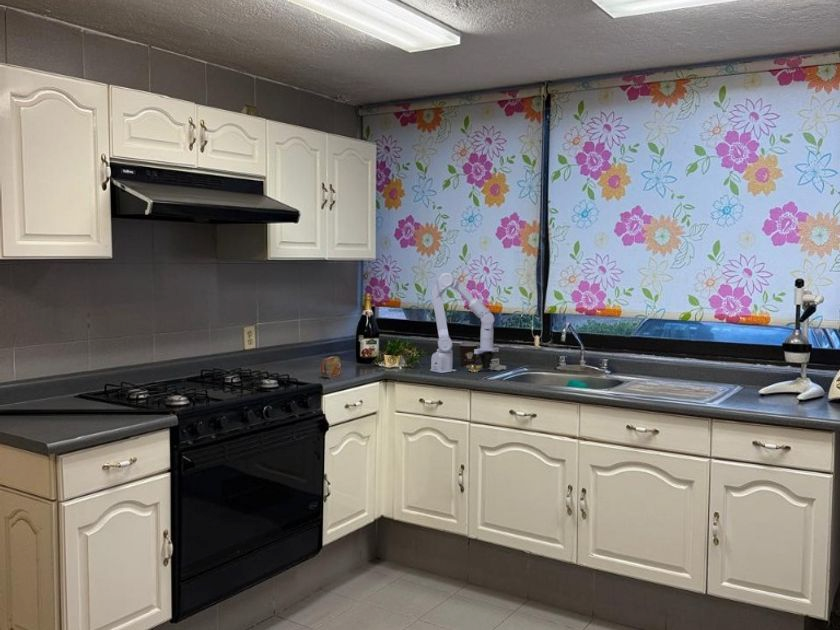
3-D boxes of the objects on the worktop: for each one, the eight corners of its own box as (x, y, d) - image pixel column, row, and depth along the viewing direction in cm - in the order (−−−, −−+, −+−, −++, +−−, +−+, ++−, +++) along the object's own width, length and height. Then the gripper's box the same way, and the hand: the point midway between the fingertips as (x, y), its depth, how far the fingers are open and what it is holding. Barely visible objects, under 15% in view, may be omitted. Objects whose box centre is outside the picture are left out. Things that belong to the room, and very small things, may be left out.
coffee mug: (456, 366, 354) (457, 345, 353) (461, 364, 362) (461, 343, 361) (481, 368, 351) (481, 346, 350) (484, 365, 359) (485, 344, 358)
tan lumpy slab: (326, 379, 312) (326, 359, 311) (319, 379, 313) (320, 359, 312) (342, 374, 326) (342, 355, 326) (335, 373, 327) (335, 354, 327)
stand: (494, 370, 343) (495, 360, 343) (486, 369, 347) (486, 359, 346) (506, 369, 349) (506, 359, 348) (497, 367, 352) (498, 358, 352)
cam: (471, 372, 336) (471, 365, 336) (465, 370, 342) (465, 363, 341) (493, 371, 340) (493, 364, 340) (487, 369, 346) (487, 362, 346)
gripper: (482, 340, 331) (482, 371, 332) (504, 338, 341) (503, 368, 342) (470, 339, 336) (470, 369, 337) (492, 337, 346) (491, 366, 347)
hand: (486, 368), depth 340 cm, fingers closed
